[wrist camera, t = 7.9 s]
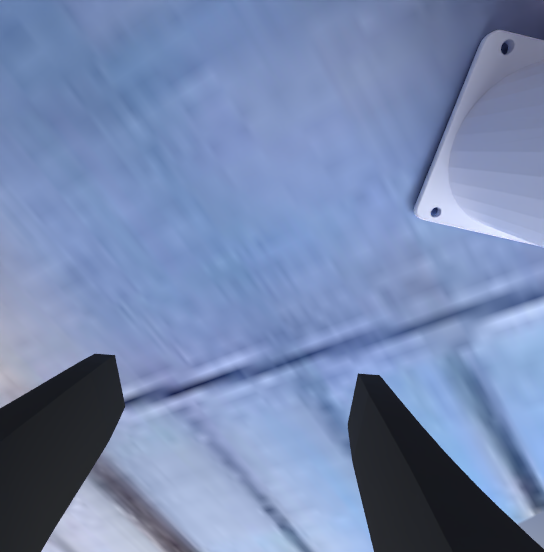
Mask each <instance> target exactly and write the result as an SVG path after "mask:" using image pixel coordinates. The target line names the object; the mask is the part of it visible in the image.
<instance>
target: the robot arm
mask: <svg viewBox="0 0 544 552" xmlns="http://www.w3.org/2000/svg"><path fill="white" fill-rule="evenodd" d="M504 42H505V43H506V44H507V45H508V51H507V53H506V54H505V55H504V54H503V53H502V52H501V46H502V44H503V43H504ZM435 207H437V208H438V212H437V213H436V215H434V216H431V210H432V209H433V208H435ZM414 214H415V216H416V217H418V218H420V219H422V220H426V221H431V222H435V223H439V224H444V225H448V226H453V227H457V228H462V229H466V230H470V231H475V232H479V233H484V234H488V235H492V236H497V237H501V238H506V239H510V240H515V241H519V242H523V243H528V244H532V245H537V246H541V247H544V40H541V39H537V38H532V37H528V36H524V35H520V34H516V33H512V32H508V31H504V30H495V31H493V32H491V33H489V34H488V35H486V36H485V37H484V38H483V39H482V41H481V43H480V45H479V47H478V50H477V52H476V55H475V57H474V60H473V62H472V65H471V67H470V70H469V72H468V75H467V77H466V80H465V82H464V85H463V87H462V90H461V92H460V95H459V97H458V100H457V102H456V105H455V107H454V110H453V112H452V115H451V117H450V119H449V122H448V124H447V127H446V129H445V132H444V134H443V137H442V139H441V142H440V144H439V147H438V149H437V152H436V154H435V157H434V159H433V162H432V164H431V167H430V169H429V172H428V174H427V177H426V179H425V182H424V184H423V187H422V189H421V192H420V194H419V197H418V199H417V202H416V204H415V207H414ZM124 408H125V403H124V398H123V393H122V388H121V383H120V378H119V373H118V369H117V364H116V359H115V355H104V354H94V355H92V356H90V357H88V358H86V359H84V360H82V361H81V362H79V363H77V364H75V365H74V366H72V367H70V368H68V369H67V370H65V371H63V372H62V373H60V374H58V375H57V376H55V377H53V378H52V379H50V380H48V381H46V382H45V383H43V384H41V385H40V386H38V387H36V388H35V389H33V390H31V391H29V392H28V393H26V394H24V395H23V396H21V397H19V398H17V399H16V400H14V401H12V402H11V403H9V404H7V405H5V406H4V407H2V408H0V552H41V551H42V549H43V547H44V546H45V544H46V542H47V540H48V539H49V537H50V535H51V534H52V532H53V530H54V529H55V527H56V525H57V524H58V522H59V521H60V519H61V517H62V516H63V514H64V513H65V511H66V509H67V508H68V506H69V505H70V503H71V501H72V500H73V498H74V497H75V495H76V493H77V492H78V490H79V489H80V487H81V485H82V484H83V482H84V481H85V479H86V477H87V476H88V474H89V473H90V471H91V469H92V468H93V466H94V465H95V463H96V461H97V460H98V458H99V457H100V455H101V453H102V452H103V450H104V448H105V447H106V445H107V443H108V442H109V440H110V438H111V436H112V434H113V432H114V430H115V428H116V426H117V423H118V421H119V419H120V417H121V415H122V412H123V410H124ZM348 432H349V440H350V447H351V454H352V461H353V466H354V470H355V475H356V479H357V483H358V487H359V491H360V496H361V500H362V504H363V508H364V512H365V516H366V520H367V524H368V528H369V533H370V537H371V541H372V545H373V549H374V552H544V549H543V548H542V547H541V546H540V545H539V544H537V543H536V542H535V541H534V540H533V539H532V538H531V537H530V536H529V535H528V534H526V533H525V531H524V530H522V529H521V528H520V527H519V526H518V525H517V524H516V523H515V522H514V521H513V520H512V519H511V518H510V517H509V516H508V515H507V514H505V513H504V512H503V511H502V510H501V509H500V508H499V507H498V506H497V505H496V504H495V503H494V502H493V501H492V500H491V499H490V498H489V497H488V496H487V495H486V494H485V493H484V492H483V491H482V490H481V489H480V488H479V487H478V486H477V485H476V484H475V483H474V482H473V481H472V480H471V479H470V478H469V477H468V476H467V475H466V474H465V473H464V472H463V471H462V470H461V469H460V468H459V466H458V465H457V464H456V463H455V462H454V461H453V460H452V459H451V458H450V457H449V456H448V455H447V454H446V453H445V452H444V450H443V449H442V448H441V447H440V446H439V445H438V444H437V443H436V441H435V440H434V439H433V438H432V437H431V436H430V435H429V433H428V432H427V431H426V430H425V429H424V428H423V427H422V426H421V424H420V423H419V422H418V421H417V420H416V419H415V417H414V416H413V415H412V414H411V413H410V411H409V410H408V409H407V408H406V407H405V405H404V404H403V403H402V402H401V401H400V399H399V398H398V397H397V396H396V395H395V393H394V392H393V391H392V390H391V389H390V387H389V386H388V385H387V384H386V383H385V381H384V380H383V379H382V378H381V377H380V375H369V374H358V377H357V382H356V386H355V391H354V396H353V401H352V406H351V411H350V416H349V421H348Z"/></svg>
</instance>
